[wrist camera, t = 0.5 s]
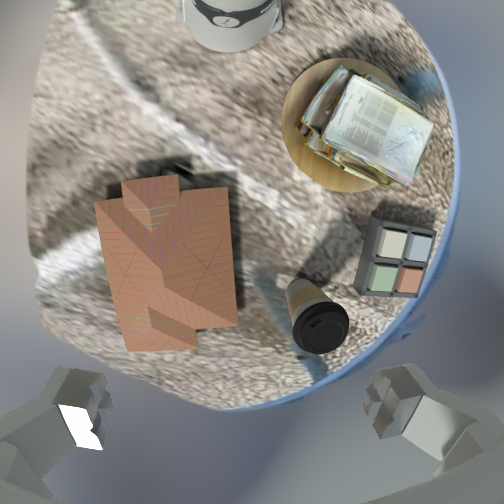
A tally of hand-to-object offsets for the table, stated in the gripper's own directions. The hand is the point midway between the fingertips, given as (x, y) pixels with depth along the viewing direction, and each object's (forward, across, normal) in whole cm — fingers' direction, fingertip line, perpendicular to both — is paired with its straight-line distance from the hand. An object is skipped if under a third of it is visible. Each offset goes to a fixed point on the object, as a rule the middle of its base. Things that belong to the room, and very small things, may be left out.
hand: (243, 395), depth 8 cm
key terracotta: (+43, -39, +14) cm, 60 cm away
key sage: (+43, -32, +14) cm, 56 cm away
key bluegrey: (+43, -40, +7) cm, 59 cm away
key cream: (+43, -33, +7) cm, 55 cm away
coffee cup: (+46, -17, +18) cm, 52 cm away
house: (+47, +8, +14) cm, 49 cm away
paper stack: (+46, -22, -14) cm, 53 cm away
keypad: (+46, -36, +10) cm, 59 cm away
